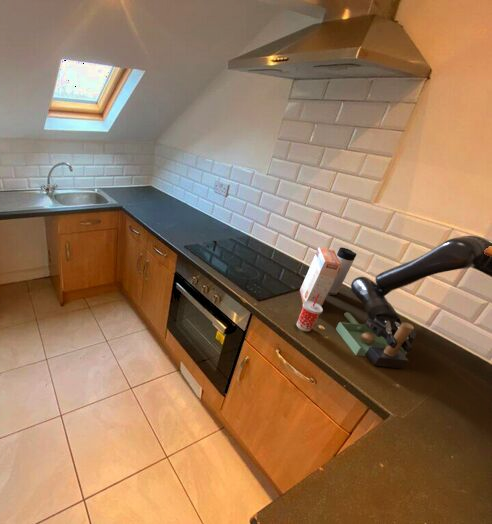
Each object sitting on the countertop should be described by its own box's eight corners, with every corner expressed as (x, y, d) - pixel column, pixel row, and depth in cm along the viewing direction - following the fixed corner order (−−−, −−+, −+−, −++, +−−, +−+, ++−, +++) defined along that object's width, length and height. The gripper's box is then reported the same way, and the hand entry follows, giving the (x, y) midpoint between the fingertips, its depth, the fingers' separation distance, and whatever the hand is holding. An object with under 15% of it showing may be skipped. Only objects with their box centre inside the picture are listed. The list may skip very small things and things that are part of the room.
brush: (392, 357, 95) (417, 322, 88) (403, 368, 91) (429, 332, 84) (364, 354, 95) (387, 318, 88) (373, 365, 91) (398, 329, 84)
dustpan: (402, 360, 95) (407, 353, 93) (355, 355, 95) (360, 347, 93) (363, 319, 113) (367, 312, 111) (324, 314, 113) (327, 308, 111)
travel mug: (317, 286, 131) (335, 245, 121) (330, 287, 132) (350, 246, 122) (326, 295, 125) (346, 252, 116) (340, 295, 126) (361, 253, 117)
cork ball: (374, 331, 100) (373, 343, 100) (359, 329, 102) (359, 341, 102) (377, 334, 97) (376, 346, 97) (362, 332, 99) (361, 344, 99)
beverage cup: (305, 334, 101) (321, 301, 94) (290, 323, 106) (304, 290, 99) (316, 330, 104) (333, 297, 97) (301, 319, 109) (316, 287, 102)
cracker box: (319, 313, 113) (343, 265, 103) (302, 308, 115) (324, 260, 105) (314, 294, 125) (335, 249, 115) (299, 290, 127) (318, 245, 117)
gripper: (363, 298, 101) (380, 330, 86) (411, 310, 97) (437, 345, 83) (353, 316, 104) (368, 349, 90) (399, 328, 101) (422, 364, 86)
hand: (401, 347), depth 86 cm, fingers closed on brush, 3 cm apart
